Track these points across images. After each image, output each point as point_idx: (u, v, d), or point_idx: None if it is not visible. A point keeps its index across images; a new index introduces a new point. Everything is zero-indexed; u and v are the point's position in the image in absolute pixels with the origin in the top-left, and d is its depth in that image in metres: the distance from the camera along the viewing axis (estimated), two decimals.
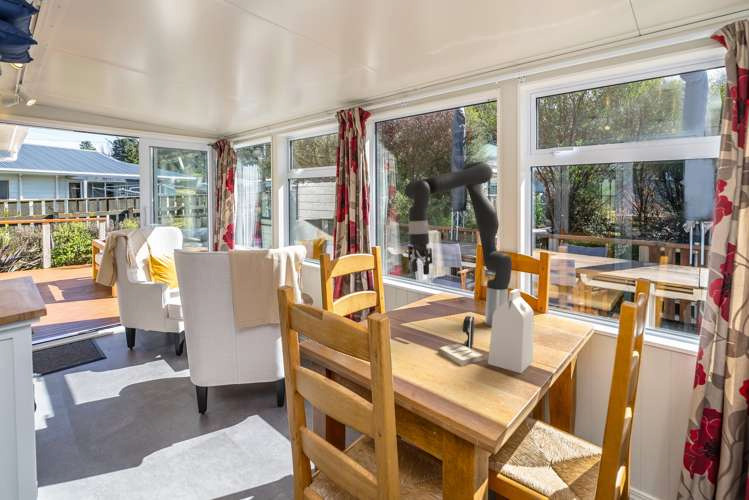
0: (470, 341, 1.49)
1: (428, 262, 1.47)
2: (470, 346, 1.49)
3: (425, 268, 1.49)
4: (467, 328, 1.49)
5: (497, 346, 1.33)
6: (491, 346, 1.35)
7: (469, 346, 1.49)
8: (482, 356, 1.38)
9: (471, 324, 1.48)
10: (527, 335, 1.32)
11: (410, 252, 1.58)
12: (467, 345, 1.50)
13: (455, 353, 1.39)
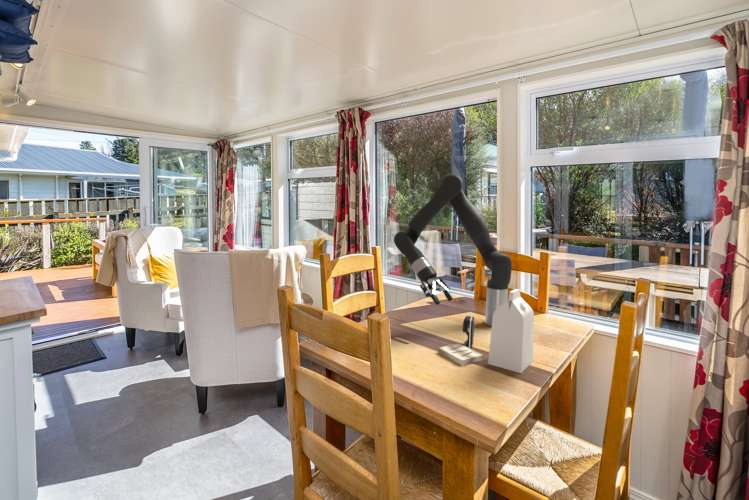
0: (470, 341, 1.49)
1: (426, 295, 1.56)
2: (470, 346, 1.49)
3: (433, 299, 1.57)
4: (467, 328, 1.49)
5: (497, 346, 1.33)
6: (491, 346, 1.35)
7: (469, 346, 1.49)
8: (482, 356, 1.38)
9: (471, 324, 1.48)
10: (527, 335, 1.32)
11: None
12: (467, 345, 1.50)
13: (455, 353, 1.39)
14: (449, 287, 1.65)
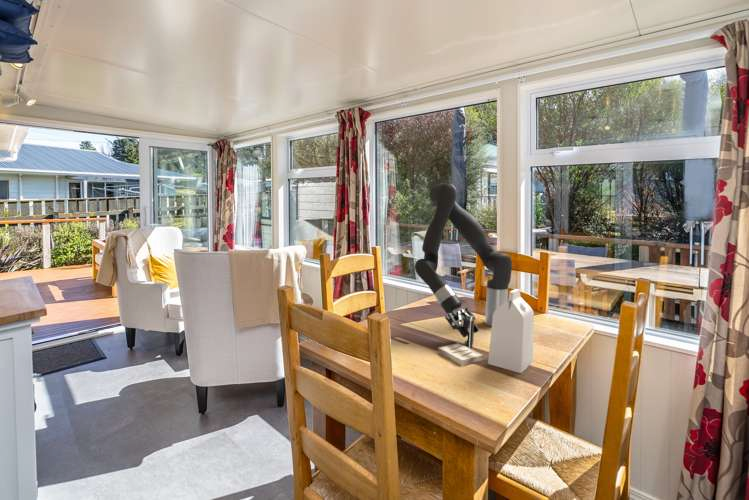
0: (470, 341, 1.49)
1: (453, 327, 1.49)
2: (470, 346, 1.49)
3: (460, 331, 1.49)
4: (467, 328, 1.49)
5: (497, 346, 1.33)
6: (491, 346, 1.35)
7: (469, 346, 1.49)
8: (482, 356, 1.38)
9: (471, 324, 1.48)
10: (527, 335, 1.32)
11: None
12: (467, 345, 1.49)
13: (455, 353, 1.39)
14: (474, 317, 1.57)
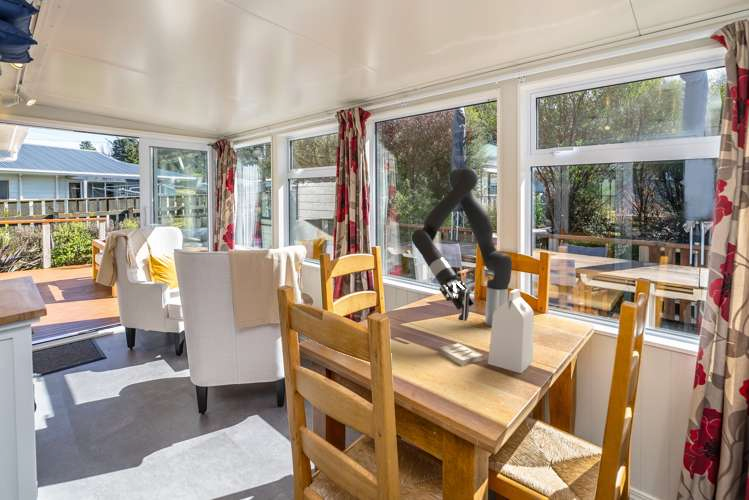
0: (465, 314, 1.45)
1: (447, 299, 1.45)
2: (464, 319, 1.45)
3: None
4: (462, 300, 1.45)
5: (497, 346, 1.33)
6: (491, 346, 1.35)
7: (463, 319, 1.45)
8: (482, 356, 1.38)
9: (466, 296, 1.44)
10: (527, 335, 1.32)
11: None
12: (461, 318, 1.46)
13: (455, 353, 1.39)
14: (470, 291, 1.53)
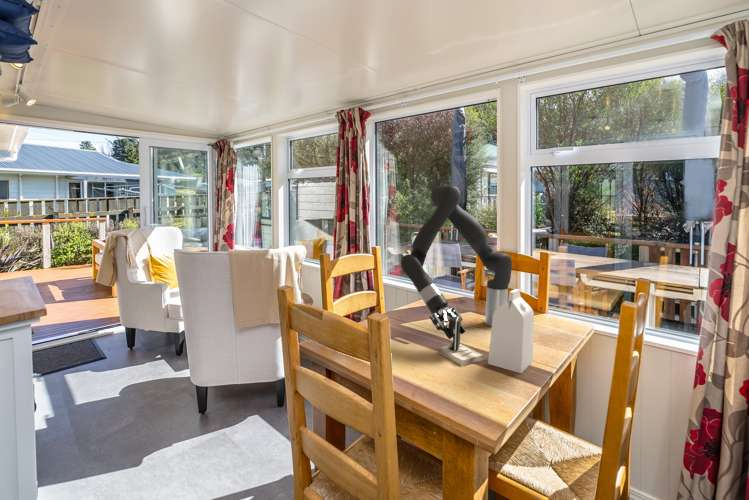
0: (456, 343, 1.41)
1: (438, 328, 1.41)
2: (456, 348, 1.41)
3: (445, 333, 1.41)
4: (453, 329, 1.40)
5: (497, 346, 1.33)
6: (491, 346, 1.35)
7: (455, 348, 1.41)
8: (482, 356, 1.38)
9: (457, 325, 1.40)
10: (527, 335, 1.32)
11: None
12: (453, 347, 1.41)
13: (455, 353, 1.39)
14: (461, 318, 1.48)
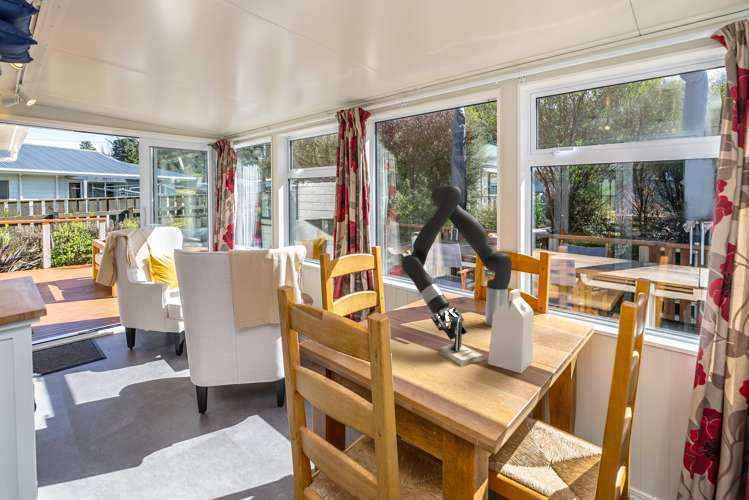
0: (457, 344, 1.40)
1: (439, 328, 1.40)
2: (457, 349, 1.40)
3: (447, 333, 1.41)
4: (454, 330, 1.40)
5: (497, 346, 1.33)
6: (491, 346, 1.35)
7: (456, 349, 1.40)
8: (482, 356, 1.38)
9: (458, 326, 1.39)
10: (527, 335, 1.32)
11: None
12: (454, 348, 1.41)
13: (455, 353, 1.39)
14: (463, 318, 1.48)
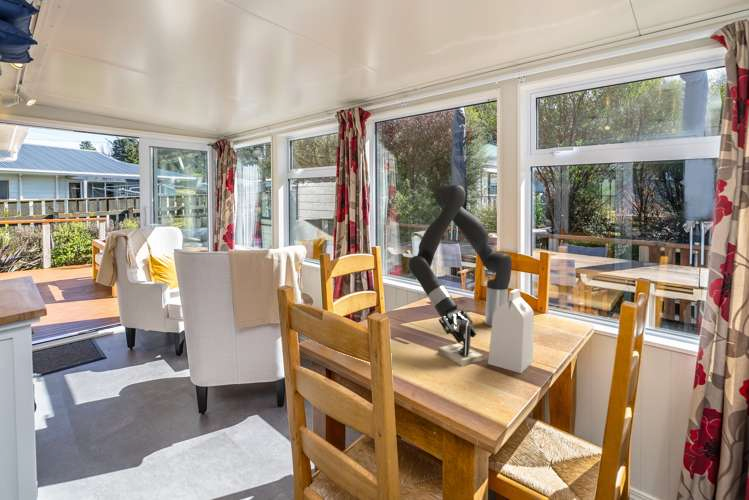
0: (466, 348, 1.36)
1: (447, 331, 1.36)
2: (466, 354, 1.36)
3: None
4: (463, 334, 1.36)
5: (497, 346, 1.33)
6: (491, 346, 1.35)
7: (465, 354, 1.36)
8: (482, 356, 1.38)
9: (467, 330, 1.35)
10: (527, 335, 1.32)
11: None
12: (463, 352, 1.37)
13: (455, 353, 1.39)
14: (471, 320, 1.44)
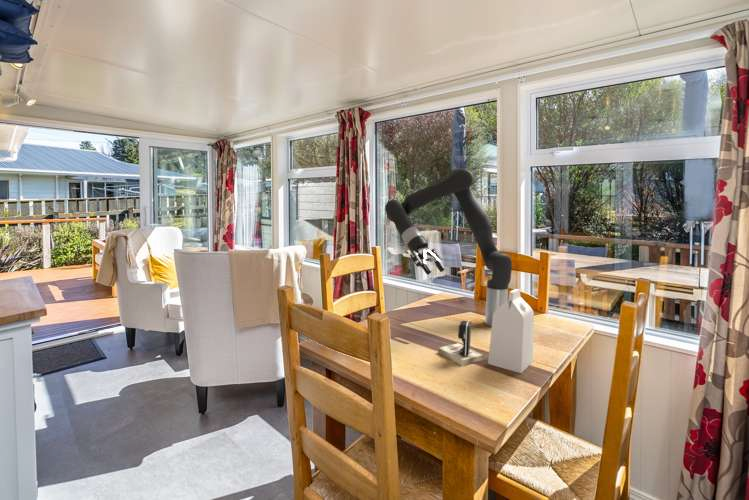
0: (466, 348, 1.36)
1: (417, 264, 1.49)
2: (466, 354, 1.36)
3: None
4: (463, 334, 1.36)
5: (497, 346, 1.33)
6: (491, 346, 1.35)
7: (465, 354, 1.36)
8: (482, 356, 1.38)
9: (467, 330, 1.35)
10: (527, 335, 1.32)
11: (433, 256, 1.60)
12: (463, 352, 1.37)
13: (455, 353, 1.39)
14: (441, 258, 1.58)
